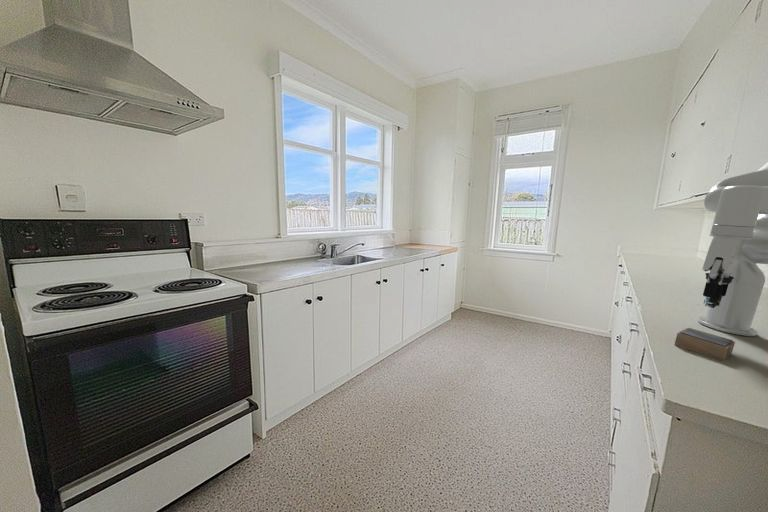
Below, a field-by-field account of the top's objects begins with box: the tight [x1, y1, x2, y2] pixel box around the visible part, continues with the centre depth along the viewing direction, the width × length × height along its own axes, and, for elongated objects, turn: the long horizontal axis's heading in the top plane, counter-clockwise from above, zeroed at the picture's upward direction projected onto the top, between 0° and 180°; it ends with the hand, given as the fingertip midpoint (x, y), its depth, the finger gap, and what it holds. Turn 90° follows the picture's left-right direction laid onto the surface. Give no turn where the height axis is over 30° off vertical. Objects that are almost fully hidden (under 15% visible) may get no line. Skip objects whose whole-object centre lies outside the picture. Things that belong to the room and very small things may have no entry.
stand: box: [674, 327, 736, 362], centre depth 78 cm, size 8×9×4 cm
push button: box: [703, 271, 734, 308], centre depth 83 cm, size 7×5×10 cm
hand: (714, 295), depth 84 cm, fingers closed on push button, 4 cm apart
